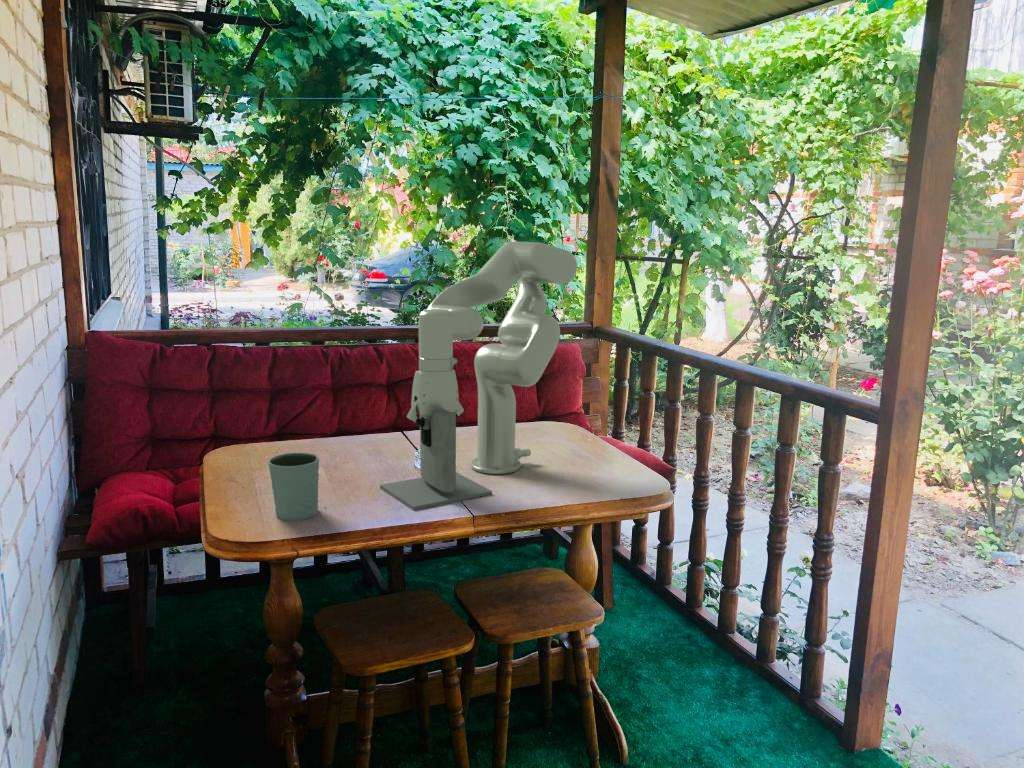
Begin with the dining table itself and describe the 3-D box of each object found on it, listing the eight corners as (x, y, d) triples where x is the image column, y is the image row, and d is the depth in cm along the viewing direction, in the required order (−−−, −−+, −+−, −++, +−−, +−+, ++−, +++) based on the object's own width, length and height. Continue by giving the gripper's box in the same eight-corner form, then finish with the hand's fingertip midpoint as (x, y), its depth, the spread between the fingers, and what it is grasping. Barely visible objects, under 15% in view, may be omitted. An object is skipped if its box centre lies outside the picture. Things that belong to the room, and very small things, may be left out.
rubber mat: (455, 474, 194) (455, 471, 194) (491, 494, 180) (491, 491, 180) (380, 488, 183) (380, 484, 183) (413, 510, 169) (413, 506, 169)
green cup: (328, 516, 165) (326, 461, 163) (280, 526, 159) (278, 469, 157) (309, 502, 173) (308, 449, 171) (264, 511, 167) (261, 456, 165)
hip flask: (458, 491, 175) (458, 403, 171) (441, 493, 173) (441, 405, 169) (430, 471, 189) (430, 389, 185) (414, 473, 187) (414, 391, 183)
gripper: (459, 359, 183) (459, 435, 187) (394, 365, 174) (395, 445, 178) (476, 364, 177) (476, 442, 181) (409, 371, 168) (410, 453, 172)
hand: (436, 443), depth 179 cm, fingers closed on hip flask, 4 cm apart
